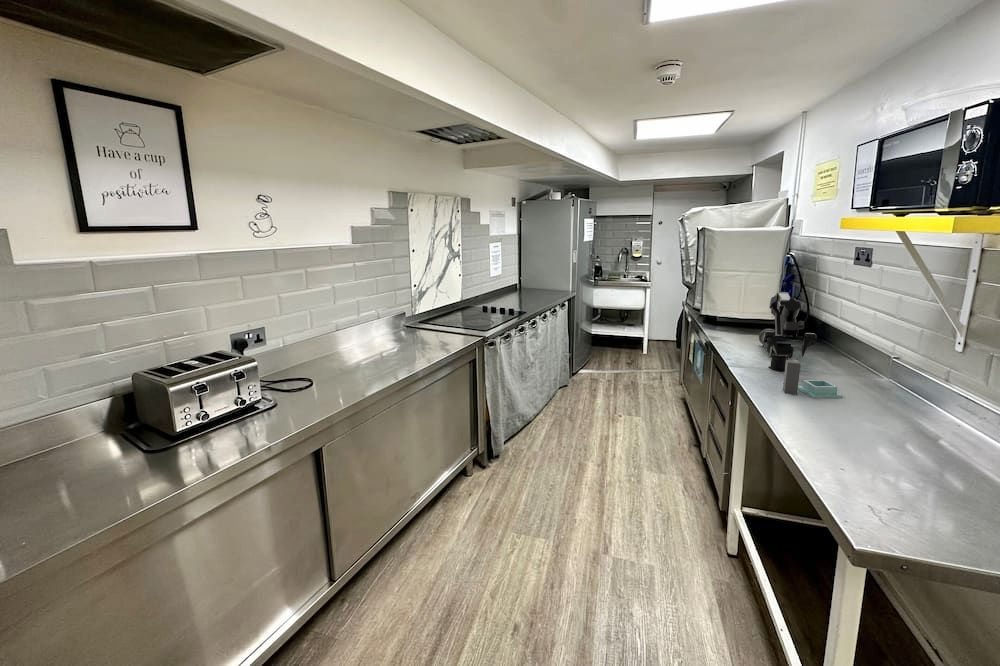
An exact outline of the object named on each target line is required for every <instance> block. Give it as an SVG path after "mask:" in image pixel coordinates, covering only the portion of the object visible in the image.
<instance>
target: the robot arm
mask: <svg viewBox="0 0 1000 666" xmlns="http://www.w3.org/2000/svg"><path fill="white" fill-rule="evenodd" d="M769 309H770V313H771V314H772V316H774V322H775V323H774V326H775V327H774V328H775V329H774V330H775V331H776V335H775V332H774V331H766V332H765V333H764V336H763V342H764V343H767V344H769V345H770V346H771V347H770V354H769V357H771V359H770V365H769V366H768V367H767V368H768V369H771V370H774V371H777V372H785V365H786V360H789V359H792V358H793V355H794V351H795V348H794V346H793V345H792V341H797V342H798V341H799V342H802V345H801V356H802V358H803V357H804V356H805V353H806V350H807V348H809V347H811V346H814V345H815V344H816V342H817V339H818V336H817V334H816V333H812V332H804V335H798V334H799V330H804V329H805V321H804V320H798V321H797V317H798V316H799V315H798V314H799V312H800V310H801V309H802V305H801V303H800V302H799V301H798V300H797V299H796V298H794V297H792V298H791V296H790V292H787V291H778V292H776V293H775V295H774V296H772V297H771V298H770V300H769Z"/></svg>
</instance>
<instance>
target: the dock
mask: <svg viewBox="0 0 1000 666" xmlns="http://www.w3.org/2000/svg"><path fill="white" fill-rule="evenodd" d="M838 389H839V387H838V386H837V385H835V384H833V383H831V382H830V381H827V380H825V379H803V380H802V385H798V391H801V392H802V393H804V394H805V395H807V396H808V397H810V398H812V399H825V398H826V399H831V398H832V399H833V398H834V399H835V398H836V399H840V398H843V395H842V394H841V393H839V392H838Z"/></svg>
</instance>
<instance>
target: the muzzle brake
mask: <svg viewBox="0 0 1000 666" xmlns="http://www.w3.org/2000/svg"><path fill="white" fill-rule="evenodd" d="M766 331H774V332H775V335H776V330H775V329H773V328H764V329H763V330H761V331H760V332H759V333H758V340H759V343H760V344H761V345H762V346H763V347H764V349H765V351H766V352H767V353H768V355H770V347H771V346H770V345H769V344H767V343H764V342H763V336H764V333H765V332H766Z"/></svg>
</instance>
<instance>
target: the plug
mask: <svg viewBox="0 0 1000 666" xmlns="http://www.w3.org/2000/svg"><path fill="white" fill-rule="evenodd" d="M801 365H802V363H801V362H800V360H795V359H788V360H786V365H785V371H784V374H783V375H784V377H783V383H782V384H783V385H782V392H783V394H787V393H788V394H789V395H798V391H799V389H798V386H799V381H800V374H801V373H800V371H801Z"/></svg>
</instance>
